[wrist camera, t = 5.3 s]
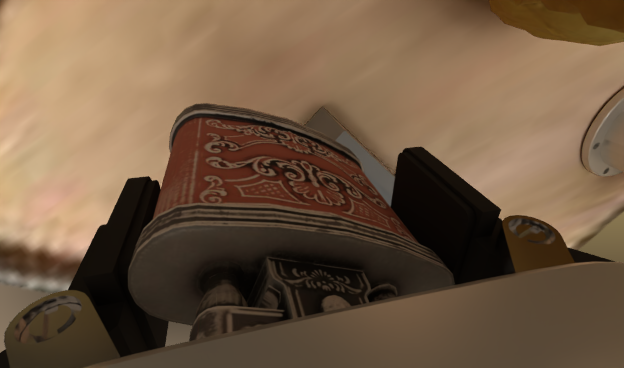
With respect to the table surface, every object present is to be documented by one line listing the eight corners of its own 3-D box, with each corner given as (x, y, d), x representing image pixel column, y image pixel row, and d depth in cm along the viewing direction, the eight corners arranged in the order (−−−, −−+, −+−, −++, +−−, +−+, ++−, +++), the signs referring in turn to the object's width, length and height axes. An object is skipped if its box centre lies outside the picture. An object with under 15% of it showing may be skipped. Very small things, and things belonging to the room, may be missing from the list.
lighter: (162, 166, 13) (68, 486, 5) (183, 84, 12) (100, 327, 3) (338, 206, 16) (467, 440, 8) (369, 146, 15) (565, 350, 7)
